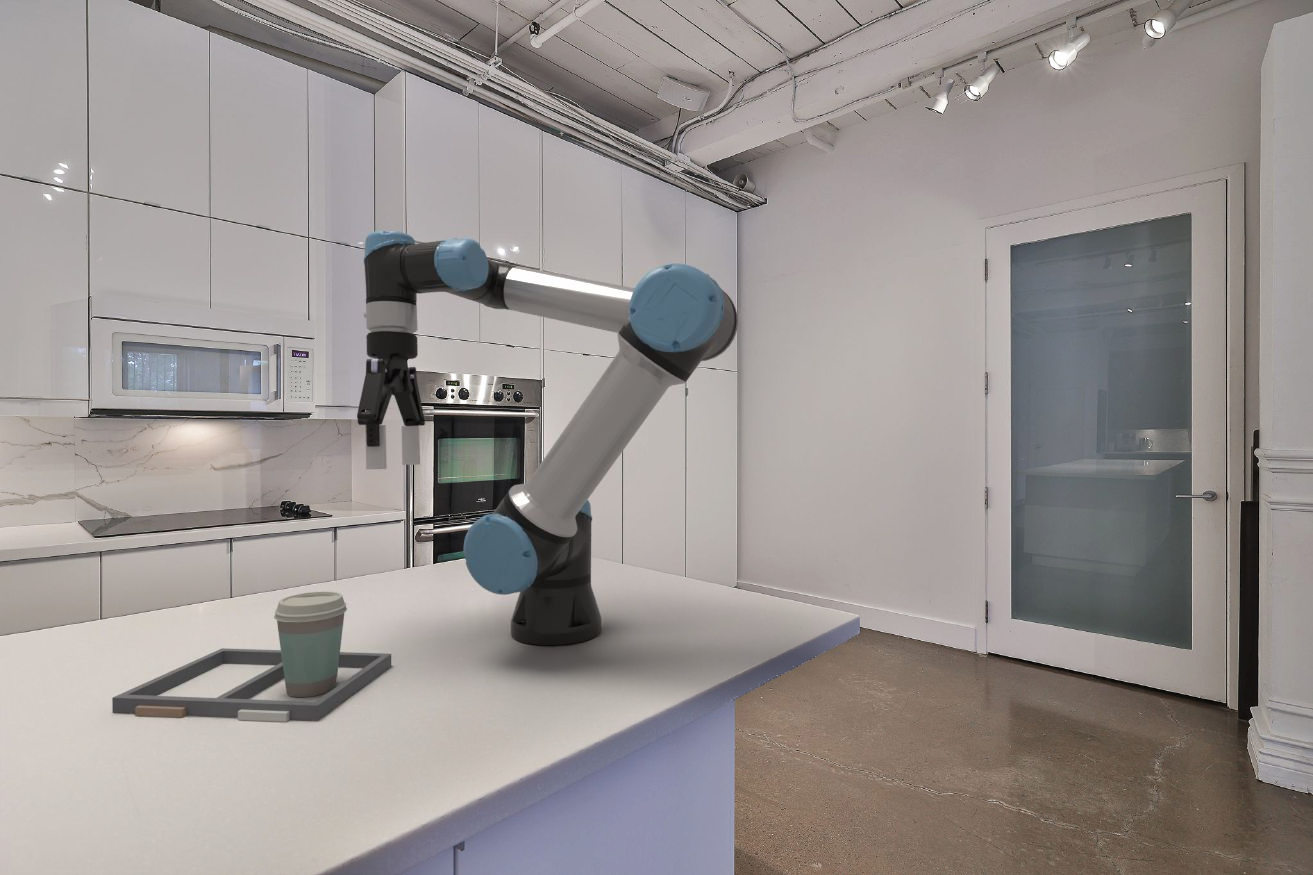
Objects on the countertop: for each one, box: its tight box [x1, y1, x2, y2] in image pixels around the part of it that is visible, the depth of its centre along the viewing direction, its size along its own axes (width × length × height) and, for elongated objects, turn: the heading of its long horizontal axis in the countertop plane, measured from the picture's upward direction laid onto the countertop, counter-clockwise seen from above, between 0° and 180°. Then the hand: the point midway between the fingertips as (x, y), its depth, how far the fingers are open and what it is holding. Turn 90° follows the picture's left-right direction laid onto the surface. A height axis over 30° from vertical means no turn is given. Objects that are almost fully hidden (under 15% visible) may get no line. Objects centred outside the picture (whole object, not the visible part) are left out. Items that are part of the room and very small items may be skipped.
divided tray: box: [111, 648, 392, 723], centre depth 88 cm, size 26×19×2 cm
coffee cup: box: [273, 591, 348, 698], centre depth 88 cm, size 9×8×12 cm
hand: (394, 466), depth 105 cm, fingers open, 13 cm apart
